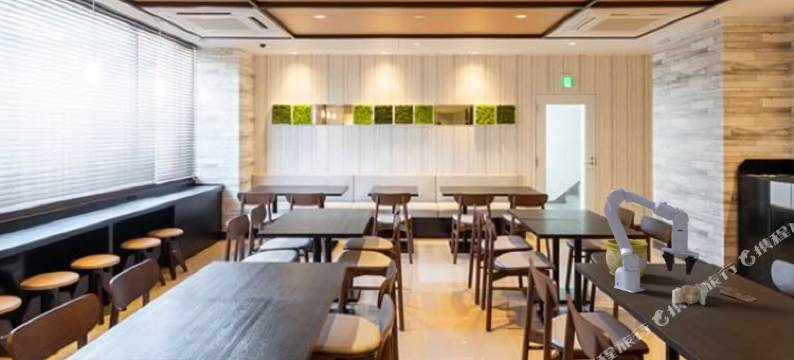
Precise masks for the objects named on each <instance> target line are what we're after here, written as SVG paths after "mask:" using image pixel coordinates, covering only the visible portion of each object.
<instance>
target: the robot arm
mask: <svg viewBox="0 0 794 360" xmlns="http://www.w3.org/2000/svg"><path fill="white" fill-rule="evenodd" d="M605 199H606V200H605V203H604V207H603V213H604V215H605V218H606V220H607V223H608V225H609V227H610V230H611V232H612V234H613V236H614V239H616V242H617V244H618V246H619V249H620V252H621V256H622V264H623V266H622V267H619V268H618V269H617V270H616V273H615V277H614V286H613V288H614V289H618V290H621V291H624V292H628V293H631V294H635V293H637V292H643V291H645V288H641V278H640V268H639V267H638V265H639V261H640V258H639V256H638V255H637V254H636V253H635V252H634V250H633V248H632V246H631V245H630V242H629V240H628V239H629V238H628V235H627V233H626V231H625V229H624V226H623V224H622V221H621V219H620V216H619V214H618V212H617V211H618V209H619V207H620V205H621V204H622V203H623V202H625V203H635V204H638V205H640V206H643V207H645V208H648V209H650V210H652V213H653V214H654V215H656V216H658V217H660V218H662V219H665V220H667V221H672V228H671V248H669V247H661V248H660V253H662V254H661V256H662V258H663V260H664V262H665V265H666V268H667V269H666V270H667V271H668V272H671V271H673V262H674V261H673V260H674V257H675V256H682V257H684V261H685V274H686V276H689V275H691V274H692V271H693V268H694V266H695V264H696V262H698V259H699V258H700V253H699V252H694V251H690V250H688V249H689V248H688V247H689V245H688V242H689V241H688V240H689V229H688V228H689V221H690V219H689V215H688V213H687V212H686V211H684V210H683V209H679V207H677V206H676V207H674V206H672V205H669V204H668V203H667V201H657V202H655V201H653V200H651V199H649V198H647V197H644V196H642V195H640V194H638V193H636V192H634V191H630V190H628V189H624V188H622V187H614V188H613V189H612V190H610V192H609V193H608V194H607V196H606V198H605Z"/></svg>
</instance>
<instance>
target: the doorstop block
mask: <svg viewBox="0 0 794 360" xmlns="http://www.w3.org/2000/svg"><path fill="white" fill-rule="evenodd" d="M681 288H682V289H683V293H682V302H683V303H689V304H695V303H699V301H698V287H695V286H694V285H691V284H685V285H682V286H681Z"/></svg>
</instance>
